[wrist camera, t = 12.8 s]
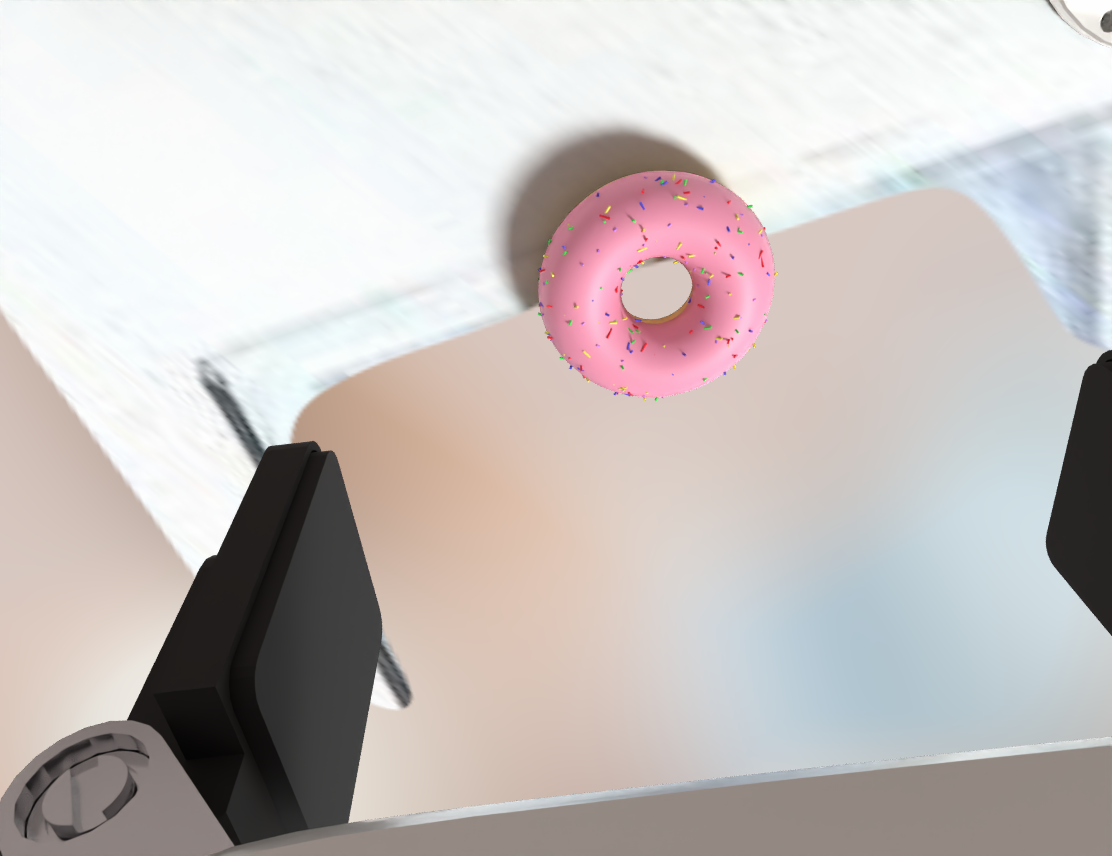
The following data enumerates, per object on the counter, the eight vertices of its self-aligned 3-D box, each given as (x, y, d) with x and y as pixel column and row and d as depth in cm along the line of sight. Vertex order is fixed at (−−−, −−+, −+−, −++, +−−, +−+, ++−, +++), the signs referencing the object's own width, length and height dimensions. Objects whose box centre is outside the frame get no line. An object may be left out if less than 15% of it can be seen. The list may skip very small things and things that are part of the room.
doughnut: (791, 323, 43) (816, 360, 40) (590, 406, 45) (596, 448, 42) (721, 117, 38) (742, 138, 35) (497, 221, 40) (495, 251, 37)
